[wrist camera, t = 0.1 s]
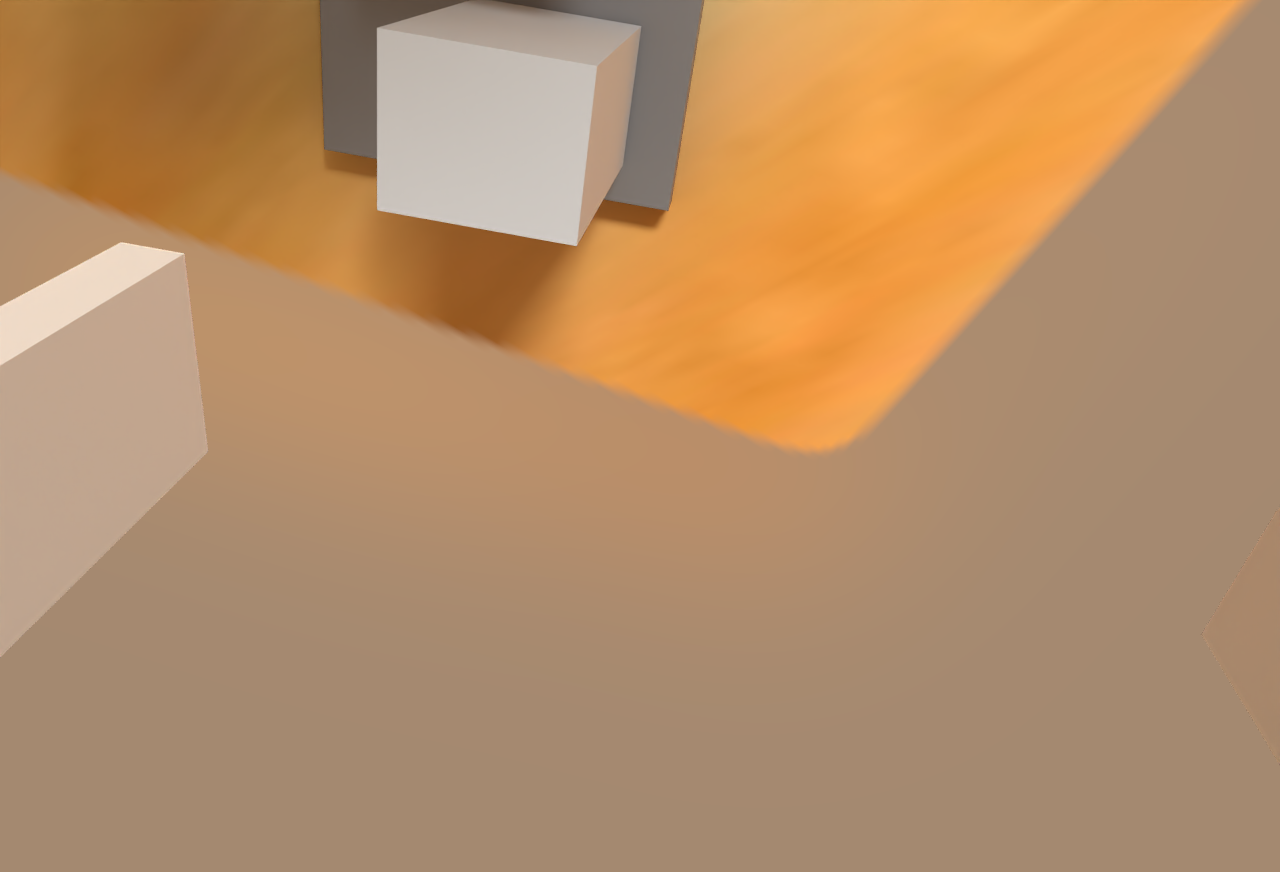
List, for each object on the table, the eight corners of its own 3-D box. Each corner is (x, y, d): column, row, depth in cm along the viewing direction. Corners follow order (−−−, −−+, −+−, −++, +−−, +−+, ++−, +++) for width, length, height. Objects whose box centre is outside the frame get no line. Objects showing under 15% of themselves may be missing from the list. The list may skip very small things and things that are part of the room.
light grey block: (478, -3, 33) (377, 27, 25) (641, 26, 33) (597, 66, 24) (471, 138, 36) (377, 210, 27) (622, 165, 36) (576, 246, 27)
